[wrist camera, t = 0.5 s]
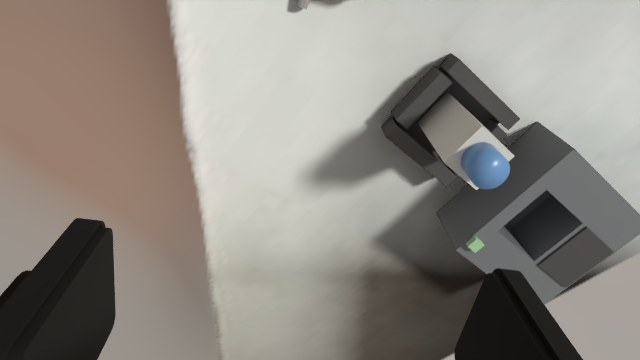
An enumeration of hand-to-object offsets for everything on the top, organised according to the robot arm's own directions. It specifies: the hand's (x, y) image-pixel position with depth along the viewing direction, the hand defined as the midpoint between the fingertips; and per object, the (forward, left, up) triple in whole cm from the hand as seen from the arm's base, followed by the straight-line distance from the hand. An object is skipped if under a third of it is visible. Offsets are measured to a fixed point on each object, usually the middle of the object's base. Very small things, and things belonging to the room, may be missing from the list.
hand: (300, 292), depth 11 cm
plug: (-4, +13, -27) cm, 30 cm away
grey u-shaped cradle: (-4, +13, -28) cm, 31 cm away
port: (-3, +25, -28) cm, 37 cm away
